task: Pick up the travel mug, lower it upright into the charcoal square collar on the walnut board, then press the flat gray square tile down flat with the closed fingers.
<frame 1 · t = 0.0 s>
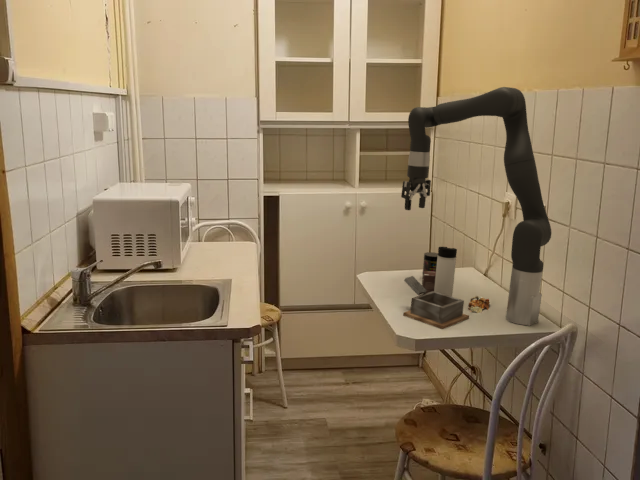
hand: (414, 208, 216), 29 cm above the table, tool pointing down, fingers open, 8 cm apart
flat gray square tile: (415, 285, 196), point 8 cm above the table, hinge at 30.0°
box: (430, 293, 216), on the table
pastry: (478, 309, 203), on the table
mug collar: (436, 316, 191), on the table
travel mug: (442, 302, 206), on the table
supplement container: (430, 280, 231), on the table
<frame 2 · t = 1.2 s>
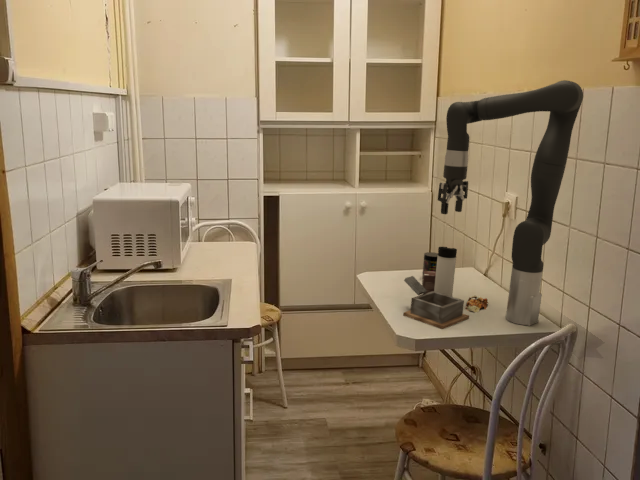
hand: (451, 212, 199), 32 cm above the table, tool pointing down, fingers open, 8 cm apart
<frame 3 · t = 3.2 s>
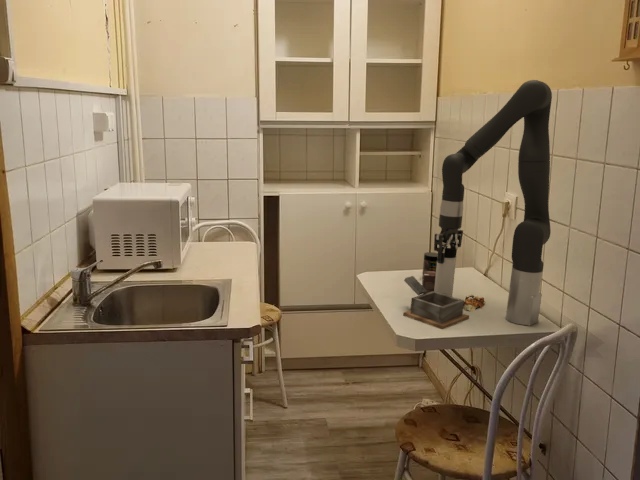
hand: (446, 261, 203), 15 cm above the table, tool pointing down, fingers closed on travel mug, 6 cm apart
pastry: (472, 307, 204), on the table
travel mug: (442, 302, 206), on the table, touching gripper
everything else where it was.
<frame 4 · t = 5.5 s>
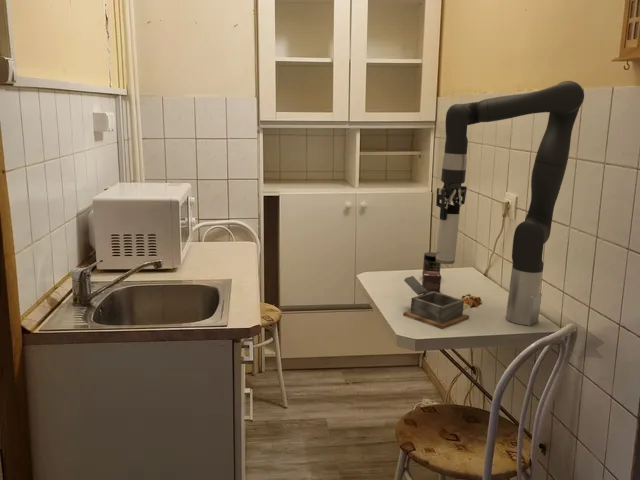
hand: (449, 218, 194), 31 cm above the table, tool pointing down, fingers closed on travel mug, 6 cm apart
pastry: (468, 306, 205), on the table
travel mug: (444, 262, 198), point 16 cm above the table, touching gripper
everything else where it was.
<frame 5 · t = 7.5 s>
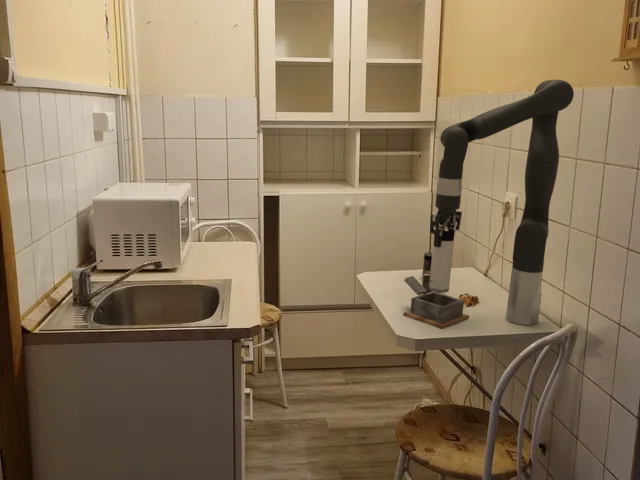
hand: (443, 245, 186), 24 cm above the table, tool pointing down, fingers closed on travel mug, 6 cm apart
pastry: (465, 305, 206), on the table
travel mug: (438, 290, 189), point 9 cm above the table, touching gripper
everything else where it was.
when the fingers open (17 cm above the table, at t = 9.7 s): travel mug drops 1 cm, resting on mug collar.
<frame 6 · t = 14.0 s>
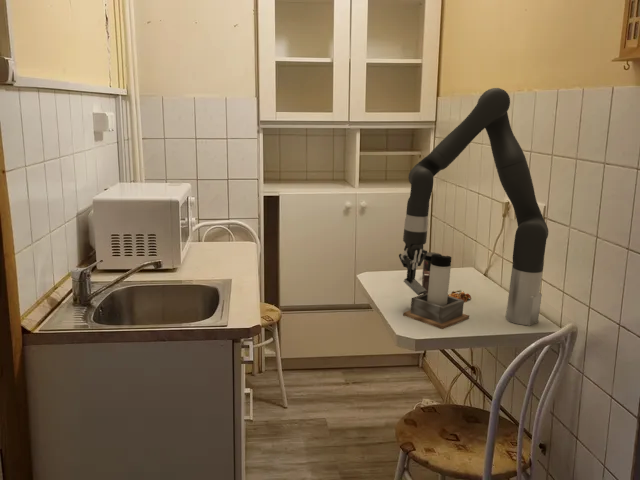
hand: (410, 279, 197), 10 cm above the table, tool pointing down, fingers closed
flat gray square tile: (415, 285, 196), point 8 cm above the table, hinge at 27.0°, touching gripper
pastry: (455, 301, 209), on the table
travel mug: (435, 314, 191), point 1 cm above the table, touching mug collar
everything else where it was.
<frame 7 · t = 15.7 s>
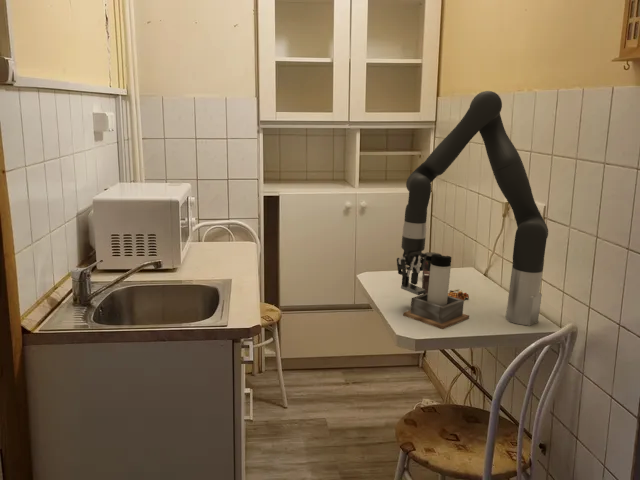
hand: (409, 285, 197), 8 cm above the table, tool pointing down, fingers open, 4 cm apart
flat gray square tile: (413, 289, 196), point 7 cm above the table, hinge at 4.4°
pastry: (453, 300, 210), on the table
everything else where it was.
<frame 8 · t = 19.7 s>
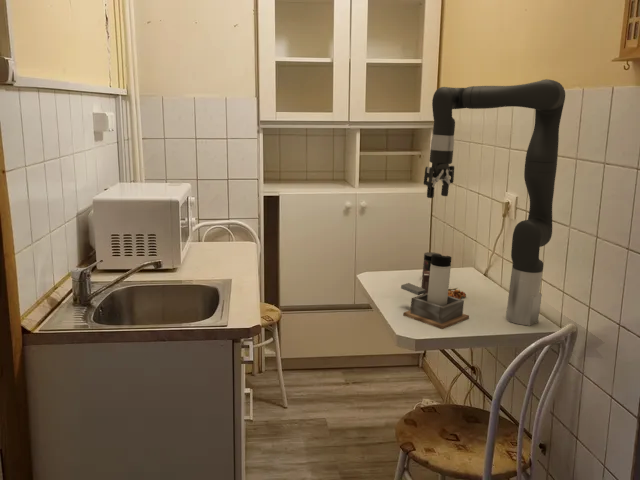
hand: (437, 196, 202), 36 cm above the table, tool pointing down, fingers open, 8 cm apart
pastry: (449, 299, 212), on the table
everything else where it was.
at the end: travel mug 0.5 cm off-centre on the mug collar, point 0.8 cm above the mug collar's base; travel mug tilted 0°; flat gray square tile at +4° (first picture: +30°) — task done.
